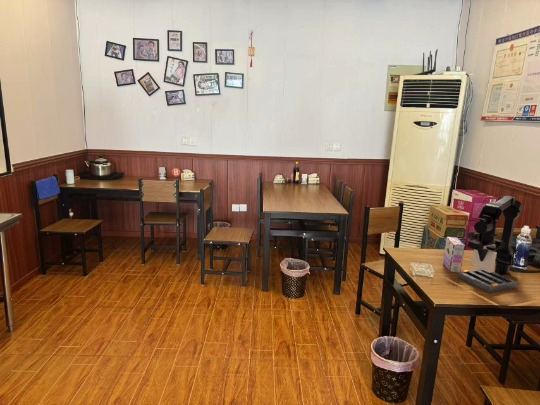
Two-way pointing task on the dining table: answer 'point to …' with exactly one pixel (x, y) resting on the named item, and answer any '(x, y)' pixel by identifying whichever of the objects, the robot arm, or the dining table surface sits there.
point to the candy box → (453, 254)
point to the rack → (487, 280)
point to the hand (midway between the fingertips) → (483, 260)
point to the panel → (484, 261)
